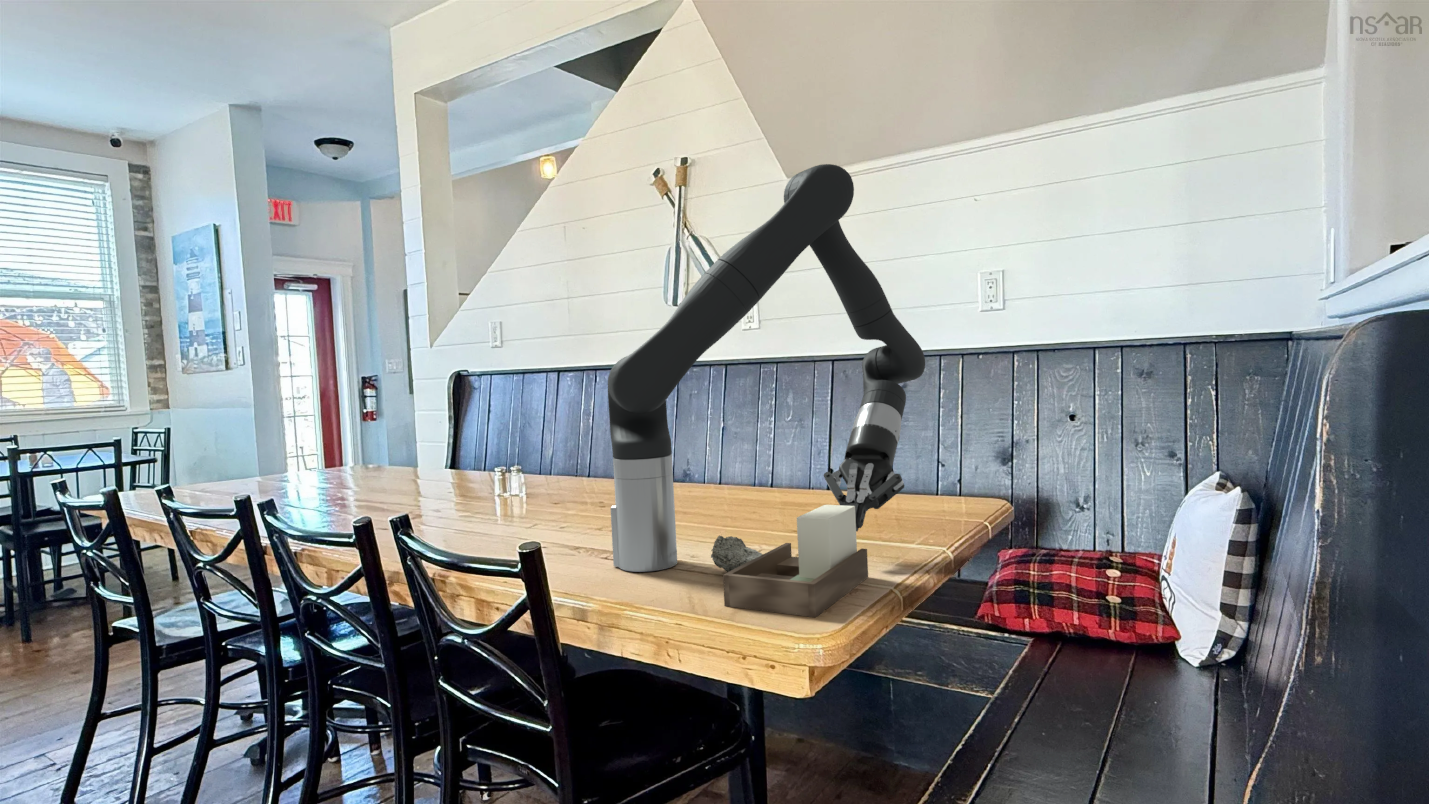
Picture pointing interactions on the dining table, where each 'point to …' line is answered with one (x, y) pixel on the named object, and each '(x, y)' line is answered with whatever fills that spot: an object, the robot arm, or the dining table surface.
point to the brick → (825, 538)
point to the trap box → (791, 583)
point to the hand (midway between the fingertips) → (850, 528)
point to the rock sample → (732, 553)
